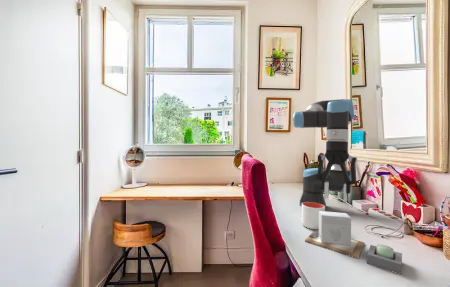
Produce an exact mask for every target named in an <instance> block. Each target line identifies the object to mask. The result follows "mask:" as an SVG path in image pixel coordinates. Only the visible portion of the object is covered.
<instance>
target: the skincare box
mask: <svg viewBox="0 0 450 287" xmlns="http://www.w3.org/2000/svg"><path fill="white" fill-rule="evenodd" d="M319 238H320V240H321V242H324V243H333V244H341V245H349V246H351V239H352V217H351V216H350V215H349V214H348V213H346V212H334V211H326V210H325V211H319Z"/></svg>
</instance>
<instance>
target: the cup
mask: <svg viewBox="0 0 450 287" xmlns="http://www.w3.org/2000/svg"><path fill="white" fill-rule="evenodd" d="M319 211H326V208H325V206H324V205H322V204H319V203H314V202H304V203H302V206H301V216H300V217H301V220H300V222H301V225H302V226H303V227H304V228H306V227H307V229H309V228H310V230H314V229H317V230H318V229H319Z"/></svg>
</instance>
